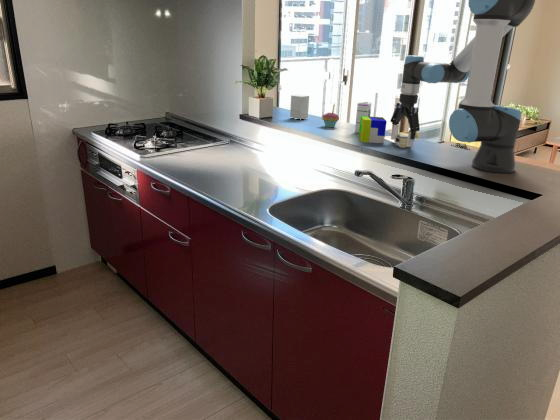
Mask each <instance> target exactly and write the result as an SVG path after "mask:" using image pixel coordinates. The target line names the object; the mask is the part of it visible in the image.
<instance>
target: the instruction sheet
mask: <svg viewBox="0 0 560 420" xmlns="http://www.w3.org/2000/svg"><path fill="white" fill-rule="evenodd" d="M391 136H392V135H385V138H384V141H388V142H391V143H394V144H397V143H396V142H394V141H395V139H391Z"/></svg>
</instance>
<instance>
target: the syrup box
mask: <svg viewBox="0 0 560 420" xmlns="http://www.w3.org/2000/svg"><path fill="white" fill-rule="evenodd" d="M371 111H372V102H369V101H359V102H358V103H357V108H356V114H355V115H356V117H355V126H354V127H355V129H354V133H357V134H359V128H360V119H361V116H368V117H371Z"/></svg>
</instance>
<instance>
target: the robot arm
mask: <svg viewBox="0 0 560 420" xmlns="http://www.w3.org/2000/svg"><path fill="white" fill-rule="evenodd" d="M535 3H536V0H468V4H467V5H468V8H469V11H470V12H471V13H472V14H473V17H472V18H473V20H472V21H473V22H474V24H475V25H476V29H475V36H474V37H473V38H472V39H471V40H470V41H469V42H468V44H467V45H466V46H465V47H463V49H462V50H461V51H460V52H459V53H458V54H457V56H455V57H454V58H453V59H452V60H451V62H450V63H448V62H447V63H445V62H444V63H443V62H429V61H428V62H427V61H425V57H424V56H423V55H413V54H411V55H410V54H408V55H407V56H405V61H404V63H403V69H402V70H403V71H402V79H401V86H400V93H399V99H398V102H396V106H395V108H394V109H395V110H394V111H393V113H392V116H391V118H390V123H391V124H392V129H391V135H390V136H391V139H395V138H396V137H395V136H398V134H395V133H399V129H400V123H401V120H402V119H403V118H404V117H405V118H407V122H408V126H409V130H408V134H409V135H408V141H407V147H406V148H411V147H412V148H413V147H414V143H415V139H416V133H417V132H420V119H419V107H418V106H417V107H415V105H416V104H418V99H419V95H418V94H420V87H421V82H423V83H427V84H437V83H447V84H451V83H453V84H458V83H464V82H466V81H467V82H466V83H467V84H466V90H465V96H464V98H463V99H462V100H460V101H459V103H458V108H457V109H455V110H453V112H452V113H451V114H450V116H449V120H448V127H449V132H450V134H451V135H452V137H453V138H454V139H455V140H456V141H458V142H461V143H469V144H470V143H478V142H479V143H480V146H479V148H478V149H477V152H476V153H475V156H474V157H473V158H472V161H471V167H474V168H475V169H478V170H481V171H485V172H490V173H499V174H509V173H510V174H511V173H513V172H515V169H516V162H515V161H516V160H515V159H516V158H515V147H516V142H517V137H518V134H519V129H520V126H521V121H522V120H521V119H522V111H521V109H518V108H514V107H513V108H512V107H507V106H503V105H498V104H497V105H496V104H494V102H492V94H493V89H494V85H495V80H496V79H495V77H496V73H497V67H498V63H499V57H500V52H501V51H500V50H501V46H502V41H503V37H505V35H507V34H508V33H509V32H510V31H511V30H512V29H513V28H517V27H519V26H520V25H521V24H522V23H523V22H524V21H525V20H526V19H527V18H528V16H529V15H530V13H531V12H532V10H533V8H534V6H535Z"/></svg>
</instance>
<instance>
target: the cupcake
mask: <svg viewBox="0 0 560 420" xmlns="http://www.w3.org/2000/svg"><path fill="white" fill-rule="evenodd" d="M335 103H336V102H334V104H333V107H332V112H327V113H325V114H323V115H322V116H321V117H322V119H321V120H323V122H324V127H325V128H329V127H334V128H335V126H336V124H337V123H338V121H340V120H339V119H340V116H339V115H338V114H336V113H334V111H335V106H336V104H335Z"/></svg>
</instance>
